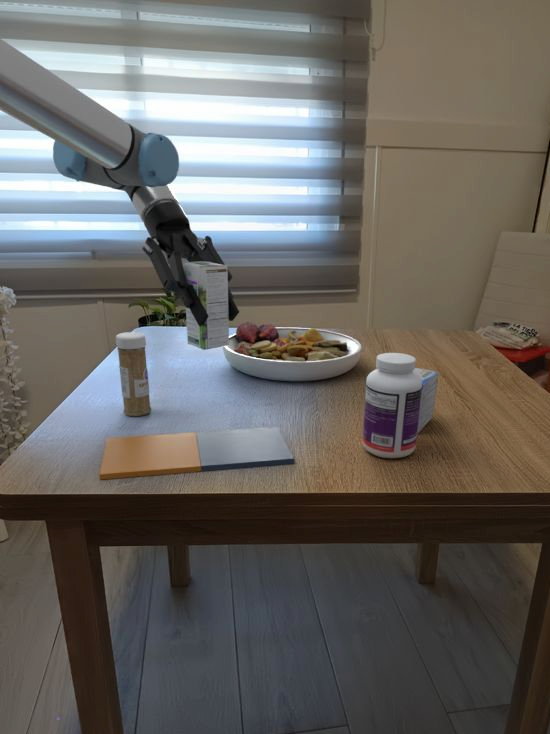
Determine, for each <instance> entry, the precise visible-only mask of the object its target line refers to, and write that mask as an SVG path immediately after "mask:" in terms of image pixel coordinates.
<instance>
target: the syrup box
mask: <svg viewBox="0 0 550 734" xmlns="http://www.w3.org/2000/svg"><path fill="white" fill-rule="evenodd" d="M183 269H184V274H185V278H186V283H187V285H186V287H188V286H190V285H192V286H193V288H194V290H195V292H196V294H197V296H198V297H199V299H200V301H201V303H202V305H203V307H204V308H205V310H206V312H207V314H208V316H209V317H208V318H207V320H206V321H205V323H204V324H203V325H202V326H199V325H198V323H197V322H196V320H195V318H194V316H193V314H192V312H191V310H190V309H189V308H186V307H185V316H186V317H185V318H186V320H185V321H186V337H187V345H191V346H194V347H196V348H198V349H201V350H202V351H205V350H211V349H216V348H223V346H227V345H229V336H230V329H229V328H230V324H229V323H230V321H229V315H228V288H229V283H228V273H227V269H228V265H227V264H225V265H221V264H216V263H212V262H203V261H198V262H189V261H188V262H185V263H183Z"/></svg>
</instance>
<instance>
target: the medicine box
mask: <svg viewBox="0 0 550 734" xmlns="http://www.w3.org/2000/svg"><path fill="white" fill-rule="evenodd" d="M413 372H415V373H416V374H418V375H419V376H420V378H421V380H422V391H421V400H420V410H419V420H418V430H417V435H418V434H420V432H421V431H422V430H423V429H424V428H425V427H426V425H427V424H428V423H429V422H430V421H431V420H432V419H433V417H434V410H435V403H436V395H437V388H438V380H439V372H437V371H434V370H429V369H425V368H418V367H415V369H414V370H413Z"/></svg>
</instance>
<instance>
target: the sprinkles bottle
mask: <svg viewBox="0 0 550 734" xmlns="http://www.w3.org/2000/svg"><path fill="white" fill-rule="evenodd" d="M115 344H116V345H115V346H116V348H117V353H118V361H119V362H118V363H119V365H118V366H119V367H118V368H119V377H120V385H121V386H120V387H121V396H122V401H123V413H124V414H125V415H126V416H128V417H142V416H146V415H148V414H150V413H151V412H152V407H151V401H150V384H149V374H148V366H147V365H148V364H147V356H146V355H147V354H146V346H147V339H146V335H145V333H142V332H138V331H128V332H127V331H126V332H120V333H118V334H116V335H115Z"/></svg>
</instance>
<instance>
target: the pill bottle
mask: <svg viewBox="0 0 550 734" xmlns="http://www.w3.org/2000/svg"><path fill="white" fill-rule="evenodd" d="M416 361H417V359H416V358H415V356H413V355H410V354H406V353H400V352H399V353H398V352H385V353H380V354H378V355H377V356H376V360H375V366H376V368H375V369H374V370H372V371H371V372H370V373H368V375H367V376H366V381H365V397H364V415H363V429H362V446H363V448H364V449H365V450H366V452H368V453H370V455H371V454H372V455H373V456H376V457H379V458H383V459H401V458H405V457H407V456H410V455H411V454H412V453H413V452H414V451H415V450H416V447H417V441H418V440H417V439H418V434H417V430H418V420H419V410H420V400H421V391H422V380H421V378H420V376H419V375H418V374H416V373H415V372H413V370H414V369H415V368H416Z"/></svg>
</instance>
